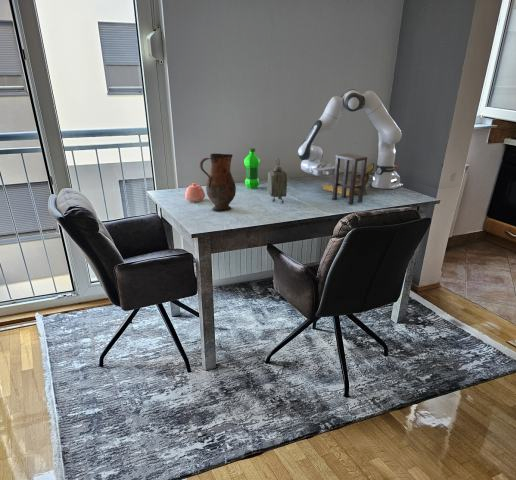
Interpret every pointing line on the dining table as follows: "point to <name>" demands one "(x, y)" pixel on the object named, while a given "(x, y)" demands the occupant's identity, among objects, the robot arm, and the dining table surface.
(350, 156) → the stand
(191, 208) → the dining table surface
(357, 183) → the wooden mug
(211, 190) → the pitcher
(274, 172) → the tabletop clock
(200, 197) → the sugar bowl
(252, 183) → the plastic bottle
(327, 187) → the bar
